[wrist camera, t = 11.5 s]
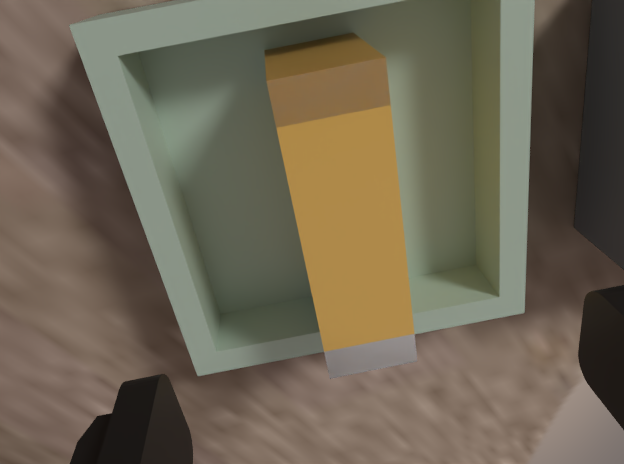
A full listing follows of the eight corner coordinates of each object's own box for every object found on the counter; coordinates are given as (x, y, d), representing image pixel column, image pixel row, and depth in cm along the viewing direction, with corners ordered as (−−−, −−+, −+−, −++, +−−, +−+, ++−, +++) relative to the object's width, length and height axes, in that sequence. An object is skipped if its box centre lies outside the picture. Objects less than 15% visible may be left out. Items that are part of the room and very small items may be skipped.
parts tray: (204, 328, 23) (197, 376, 20) (98, 14, 17) (68, 25, 14) (494, 272, 23) (524, 312, 20) (493, -61, 17) (536, -66, 14)
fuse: (330, 378, 18) (266, 80, 13) (315, 294, 22) (264, 50, 17) (417, 361, 18) (385, 57, 13) (385, 280, 22) (353, 32, 17)
